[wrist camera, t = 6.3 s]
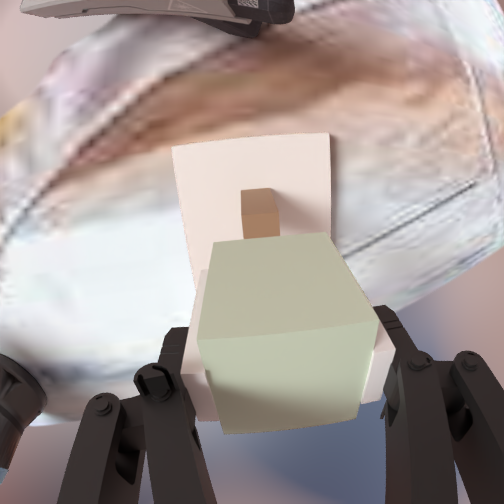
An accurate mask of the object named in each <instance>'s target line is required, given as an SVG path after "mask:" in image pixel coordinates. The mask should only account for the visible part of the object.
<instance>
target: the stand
mask: <svg viewBox="0 0 504 504" xmlns="http://www.w3.org/2000/svg"><path fill="white" fill-rule="evenodd" d="M171 150H172V157H173V164H174V171H175V178H176V184H177V191H178V197H179V203H180V209H181V215H182V221H183V226H184V232H185V237H186V243H187V248H188V253H189V259H190V264H191V269H192V274H193V279H194V284H195V288H196V292H197V287H198V282H199V278H200V273H201V270H204V269H209V264H210V258H211V253H212V247H213V242H221V241H231V240H242V239H252V238H263V237H274V236H285V235H296V234H308V233H319V232H326V233H327V234H328V236H329V237H330V239H331V169H330V138H329V133H327V132H313V133H290V134H273V135H260V136H248V137H237V138H228V139H219V140H210V141H202V142H195V143H188V144H181V145H174V146H172V147H171Z"/></svg>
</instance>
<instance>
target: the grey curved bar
mask: <svg viewBox="0 0 504 504" xmlns="http://www.w3.org/2000/svg"><path fill="white" fill-rule="evenodd" d="M20 11H21V12H22V13H26V14H30V15H35V16H40V17H44V18H48V17H55V18H59V19H61V18H69V17H78V16H89V15H104V14H166V15H181V16H189V17H192V18H194V19H197V20H199V21H202V22H204V23H206V24H209V25H211V26H213V27H216V28H218V29H220V30H222V31H225V32H227V33H229V34H233V35H238V36H244V37H249V38H253V37H256V36H257V35H258V32H259V29H260V26H261V23H262V22H266V23H271V24H286V23H289V22H291V20H292V19H293V16H294V13H295V6H294V0H23V1H22V3H21V6H20Z"/></svg>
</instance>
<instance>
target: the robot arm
mask: <svg viewBox="0 0 504 504" xmlns="http://www.w3.org/2000/svg"><path fill="white" fill-rule="evenodd" d="M207 275H208V269H204V270H201V273H200V278H199V282H198V287H197V292H196V296H195V301H194V306H193V311H192V316H191V321H190V325H189V327H177V328H171V329H170V331H169V332H168V333H167V334H166V335H165V338H164V341H163V345H162V346H163V347H162V349H161V352H160V353H161V354H160V356H159V360H158V363H150V364H147V365H145V366H143V367H142V368H140V369H139V370H138V371H137V372H136V374H135V376H134V380H133V381H134V383H135V385H136V387H137V389H138V391H139V393H140V395H138V396H135V397H132V398H127V399H123V400H119V398H118V397H117V396H115V395H114V394H111V393H101V394H98V395H96V396H94V397H93V398H92V399H91V400H90V401H89V402H88V404H87V406H86V408H85V411H84V414H83V417H82V420H81V423H80V426H79V429H78V432H77V435H76V438H75V441H74V444H73V447H72V451H71V454H70V457H69V461H68V464H67V468H66V471H65V475H64V478H63V482H62V485H61V490H60V493H59V497H58V501H57V504H138V500H139V491H140V484H141V478H142V472H143V464H144V459H145V452H146V451H147V459H148V467H149V474H150V480H151V487H152V492H153V493H152V494H153V499H154V504H217V501H216V498H215V494H214V491H213V488H212V484H211V481H210V478H209V474H208V470H207V467H206V463H205V459H204V456H203V452H202V448H201V444H200V440H199V436H198V432H197V429H196V427H195V416H197V418H198V421H219V415H218V412H217V409H216V406H215V402H214V399H213V396H212V392H211V389H210V385H209V382H208V379H207V375H206V371H205V369H204V366H203V363H202V359H201V355H200V352H199V348H198V344H197V333H198V327H199V321H200V315H201V309H202V303H203V297H204V292H205V286H206V280H207ZM356 281H357V280H356ZM359 286H360V285H359ZM362 291H363V290H362ZM372 308H373V309H374V311H375V313H376V315H377V316H378V318H379V325H378V331H377V336H376V340H375V345H374V350H373V352H372V357H371V361H370V366H369V370H368V374H367V378H366V382H365V386H364V390H363V393H362V397H361V403H362V404H364V403H368V402H373V401H377V400H380V399H381V396H382V393H383V391H384V394H385V396H386V398H387V400H386V403H385V405H384V408H383V411H382V413H381V417H380V419H383V417H384V415H385V428H386V429H385V431H386V495H385V504H458V495H457V482H456V472H455V464H454V460H455V463H456V465H457V467H458V470H459V473H460V475H461V478H462V481H463V483H464V486H465V489H466V491H467V494H468V497H469V500H470V503H471V504H504V390H503V388H502V387H501V385H500V384H499V382H498V380H497V379H496V377H495V376H494V374H493V373H492V371H491V370H490V368H489V367H488V366H487V364H486V362H485V361H484V360H483V358H482V357H481V356H480V355H478V354H477V353H475V352H472V351H462V352H460V353H458V354H457V355H456V357H455V359H454V361H434V360H433V358H432V357H431V356H430V355H429V354H427V353H425V352H423V351H419V350H418V349H417V348H416V346H415V344H414V343H413V341H412V340H411V338H410V336H409V335H408V333H407V331H406V330H405V328H403V325H402V323H401V322H400V321H399V319H398V317H397V316H396V314H395V312H394V311H393V310H391V309H390V308H388V307H387V306H386V305H382V306H375V307H372ZM46 403H47V399H46V396H45V393H44V391H43V390H42V388H41V387H40V385H39V384H38V383H37V382H36V380H35V379H34V378H33V377H32V376H31V375H30V374H29V373H28V372H27V371H26V370H24V369H23V368H22V367H21V366H19V365H18V364H17V363H15V362H14V361H12V360H11V359H9V358H7V357H5V356H3V355H1V354H0V485H1V484H2V482H3V480H4V478H5V476H6V474H7V472H8V471H9V470H8V469H9V466H10V463H11V461H12V458H13V456H14V453H15V451H16V448H17V446H18V443H19V441H20V438H21V436H22V434H23V431H24V429H25V428H26V427H27V426H28V425H29V424H30V423H31V422H32V421H33V420H34V419H35V418H36V417H37V416H39V415H40V414H41V413H42V412H43V410H44V407H45V405H46Z"/></svg>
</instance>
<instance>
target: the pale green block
mask: <svg viewBox="0 0 504 504" xmlns="http://www.w3.org/2000/svg"><path fill="white" fill-rule="evenodd" d="M378 325H379V318H378V316H377V315H376V313H375V311H374V309H373V308H372V306H371V304H370V302H369V301H368V299H367V297H366V296H365V294H364V292H363V291H362V289H361V287H360V286H359V284H358V282H357V281H356V279H355V277H354V276H353V274H352V272H351V271H350V269H349V267H348V266H347V264H346V263H345V261H344V259H343V258H342V256H341V255H340V253H339V251H338V250H337V248H336V247H335V245H334V244H333V242H332V240H331V239H330V237H329V236H328V234H327V233H326V232H319V233H308V234H296V235H285V236H274V237H263V238H252V239H242V240H231V241H221V242H213V247H212V253H211V258H210V264H209V269H208V275H207V280H206V286H205V292H204V297H203V303H202V309H201V315H200V321H199V327H198V333H197V344H198V348H199V352H200V355H201V359H202V363H203V366H204V369H205V371H206V375H207V379H208V382H209V385H210V389H211V392H212V396H213V399H214V402H215V406H216V409H217V412H218V415H219V420H220V422H221V426H222V429H223V432H224V434H243V433H258V432H269V431H280V430H290V429H298V428H305V427H312V426H319V425H325V424H331V423H337V422H342V421H347V420H352V419H356V416H357V412H358V409H359V405H360V402H361V397H362V393H363V390H364V386H365V382H366V378H367V374H368V370H369V366H370V361H371V357H372V352H373V350H374V345H375V340H376V336H377V331H378Z"/></svg>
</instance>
